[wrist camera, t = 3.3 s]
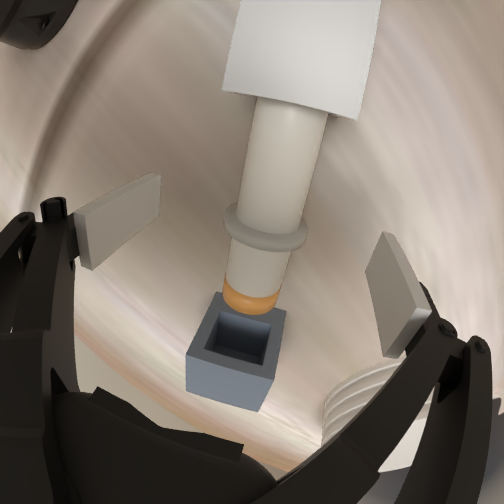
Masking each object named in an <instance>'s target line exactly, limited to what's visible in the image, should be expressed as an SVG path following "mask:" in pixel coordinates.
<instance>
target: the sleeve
mask: <svg viewBox="0 0 504 504" xmlns="http://www.w3.org/2000/svg"><path fill="white" fill-rule="evenodd" d="M380 3H381V0H241V3H240V7H239V11H238V15H237V19H236V23H235V28H234V32H233V36H232V41H231V46H230V50H229V55H228V60H227V65H226V70H225V75H224V80H223V85H222V91H226V92H231V93H236V94H241V95H245V96H250V97H254V98H257V96H259V97H265V98H270V99H276V100H280V101H285V102H290V103H294V104H299V105H303V106H307V107H311V108H315V109H319V110H322V111H326V112H329V113H328V114H329V115H333V116H336V117H340V118H346V119H351V120H356V121H357V120H358V116H359V112H360V108H361V103H362V99H363V95H364V90H365V86H366V81H367V77H368V72H369V67H370V62H371V57H372V52H373V47H374V41H375V36H376V30H377V24H378V17H379V11H380Z"/></svg>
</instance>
